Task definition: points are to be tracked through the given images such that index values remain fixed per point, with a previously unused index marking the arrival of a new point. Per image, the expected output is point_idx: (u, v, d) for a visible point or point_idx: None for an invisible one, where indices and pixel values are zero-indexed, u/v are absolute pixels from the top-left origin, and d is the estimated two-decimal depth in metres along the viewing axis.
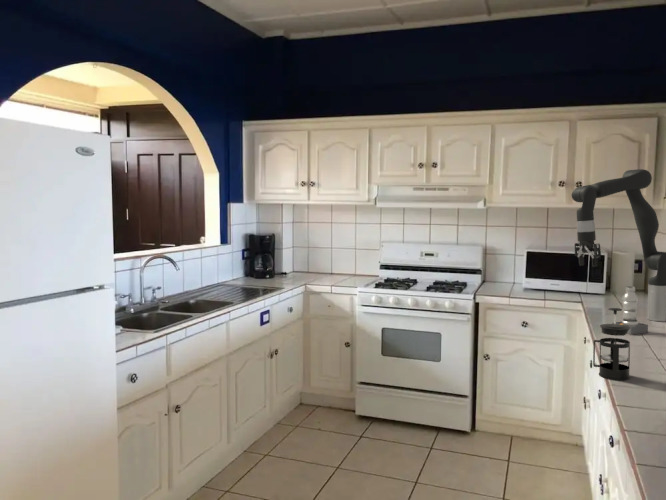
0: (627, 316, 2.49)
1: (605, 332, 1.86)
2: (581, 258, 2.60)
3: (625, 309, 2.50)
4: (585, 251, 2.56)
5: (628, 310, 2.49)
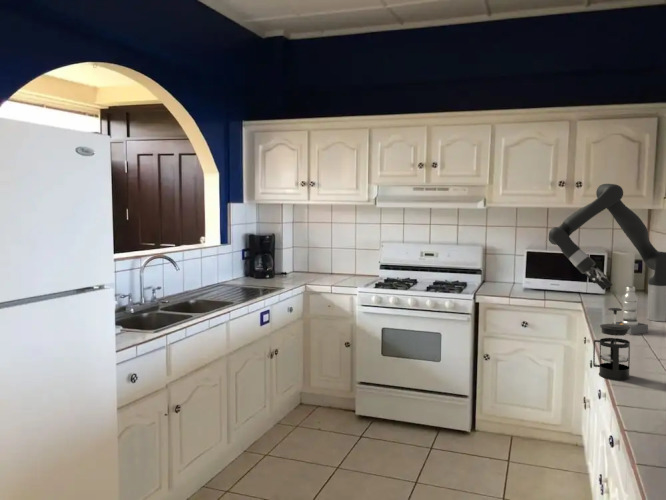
0: (627, 316, 2.49)
1: (605, 332, 1.86)
2: (604, 281, 2.60)
3: (625, 309, 2.50)
4: None
5: (628, 310, 2.49)
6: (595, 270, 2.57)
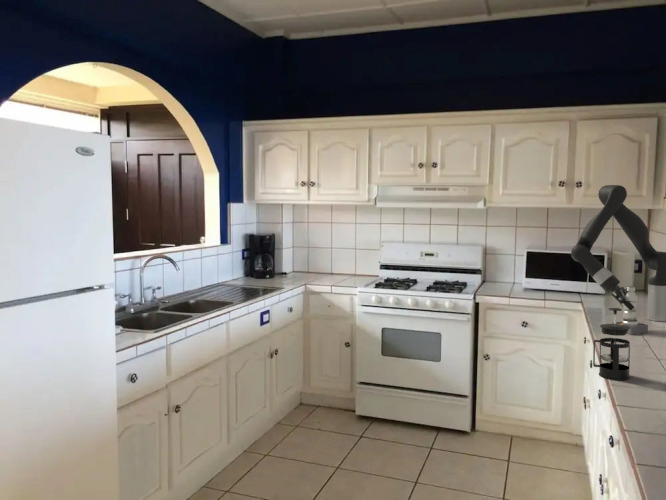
0: (627, 316, 2.49)
1: (605, 332, 1.86)
2: None
3: (625, 309, 2.50)
4: None
5: (628, 310, 2.49)
6: (620, 289, 2.50)
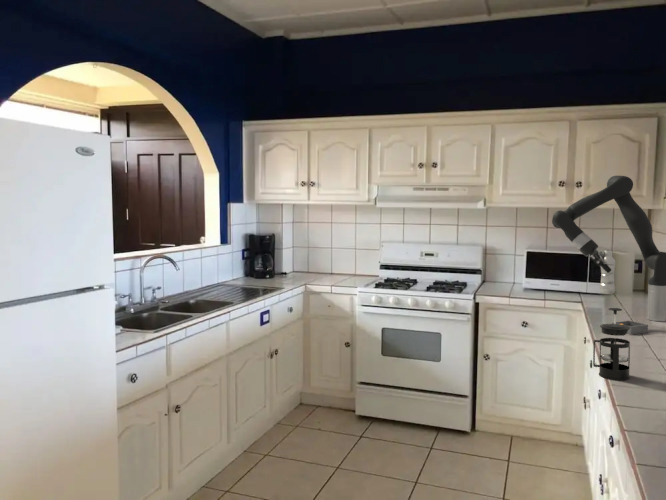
0: (604, 279, 2.58)
1: (605, 332, 1.86)
2: None
3: (603, 272, 2.59)
4: None
5: (606, 273, 2.58)
6: (598, 253, 2.60)
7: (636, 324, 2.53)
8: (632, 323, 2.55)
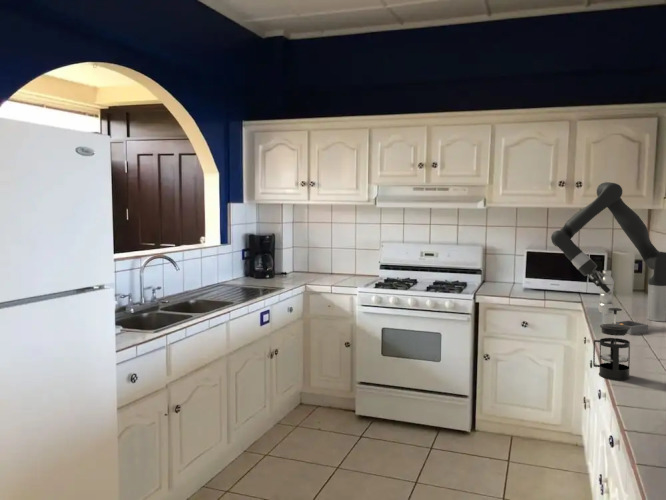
0: (603, 299, 2.60)
1: (605, 332, 1.86)
2: None
3: (602, 292, 2.60)
4: None
5: (604, 293, 2.59)
6: (597, 273, 2.61)
7: (636, 324, 2.53)
8: (632, 323, 2.55)
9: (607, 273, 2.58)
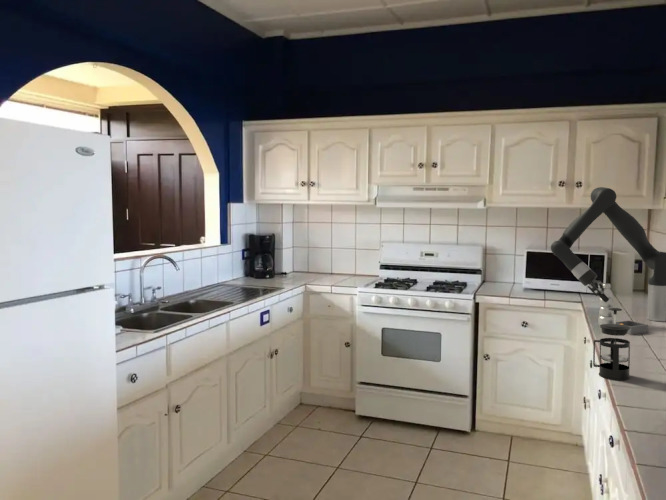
0: (603, 312, 2.60)
1: (605, 332, 1.86)
2: None
3: (601, 305, 2.60)
4: None
5: (604, 306, 2.59)
6: (597, 283, 2.61)
7: (636, 324, 2.53)
8: (632, 323, 2.55)
9: (606, 286, 2.59)
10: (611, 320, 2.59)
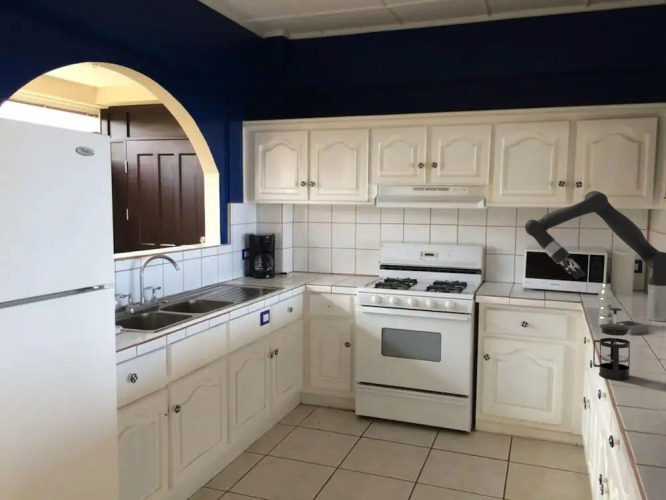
0: (603, 312, 2.60)
1: (605, 332, 1.86)
2: (578, 271, 2.72)
3: (601, 305, 2.60)
4: None
5: (604, 306, 2.59)
6: (568, 260, 2.69)
7: (636, 324, 2.53)
8: (632, 323, 2.55)
9: (606, 286, 2.59)
10: (611, 320, 2.59)
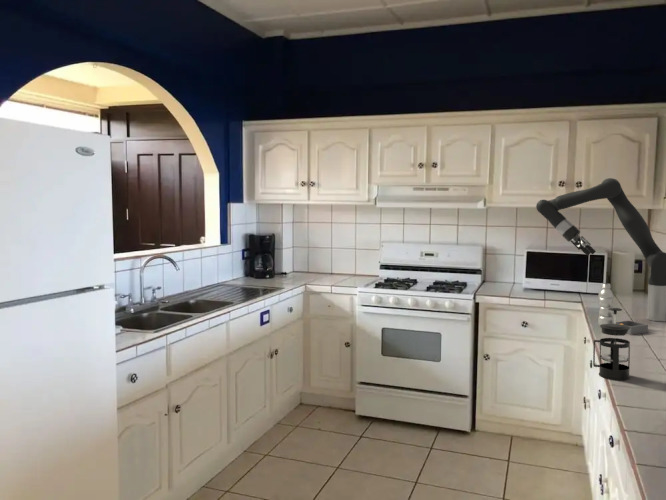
0: (603, 312, 2.60)
1: (605, 332, 1.86)
2: (588, 248, 2.80)
3: (601, 305, 2.60)
4: None
5: (604, 306, 2.59)
6: (580, 238, 2.76)
7: (636, 324, 2.53)
8: (632, 323, 2.55)
9: (606, 286, 2.59)
10: (611, 320, 2.59)
